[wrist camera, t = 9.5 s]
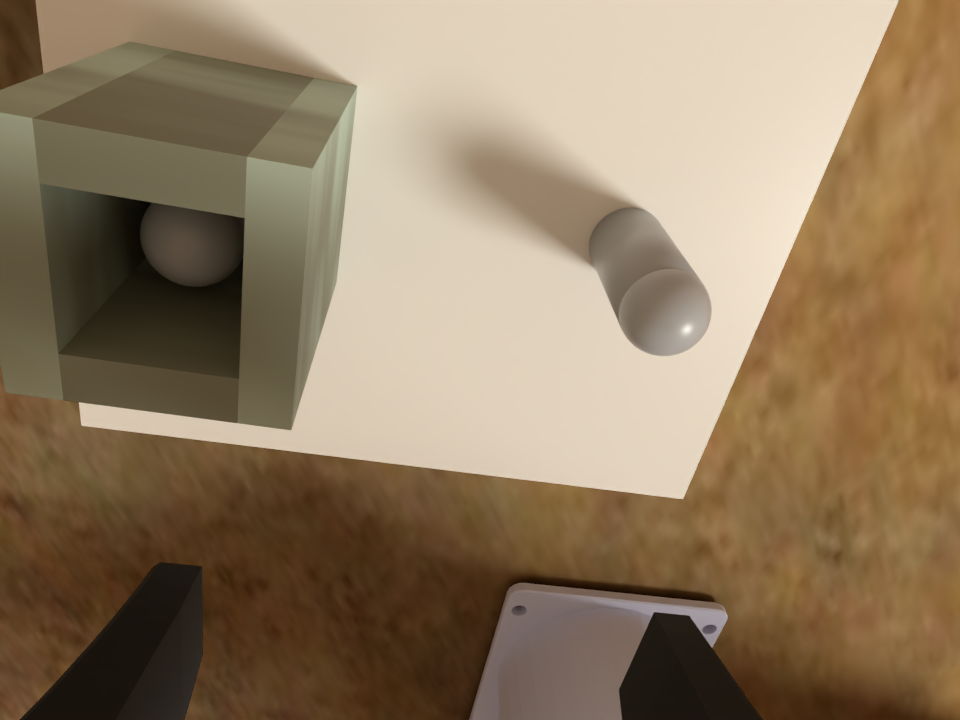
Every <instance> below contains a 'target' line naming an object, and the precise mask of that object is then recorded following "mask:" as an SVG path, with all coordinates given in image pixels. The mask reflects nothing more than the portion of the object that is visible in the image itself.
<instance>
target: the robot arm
mask: <svg viewBox="0 0 960 720" xmlns="http://www.w3.org/2000/svg"><path fill="white" fill-rule="evenodd" d="M516 606H520V607H516ZM727 618H728V616H727V613H726V611H725V608H724V606H723V605H721V604H719V603H715V602H705V601H695V600H686V599H676V598H666V597H657V596H647V595H637V594H628V593H618V592H608V591H599V590H589V589H579V588H570V587H560V586H550V585H541V584H531V583H517V584H514V585H513V586H511V587H510V588H509V589H508V591H507V594H506V597H505V601H504V604H503V607H502V611H501V614H500V617H499V621H498V624H497V627H496V631H495V634H494V637H493V641H492V644H491V648H490V651H489V654H488V658H487V661H486V664H485V668H484V671H483V674H482V678H481V681H480V685H479V688H478V691H477V695H476V698H475V701H474V705H473V708H472V711H471V715H470V718H469V720H763V719H762V718H761V717H760V715H759V714H758V713H757V711H756V710H755V708H754V707H753V706H752V704H751V703H750V701H749V700H748V699H747V697H746V696H745V694H744V693H743V692H742V690H741V689H740V687H739V686H738V685H737V683H736V682H735V680H734V679H733V677H732V676H731V675H730V673H729V672H728V670H727V669H726V667H725V666H724V665H723V663H722V662H721V660H720V659H719V657H718V656H717V654H716V653H715V652H714V650H713V649H712V647H713V646H714V644H715V642H716V640H717V638H718V636H719V634H720V632H721V631H722V629H723V627H724V625H725V623H726V621H727ZM202 655H203V630H202V567H201V566H192V565H182V564H172V563H162V562H161V563H159V564H157V565H156V566H154V567H153V568H152V569H151V570H150V572H149V573H148V574H147V576H146V577H145V578H144V580H143V581H142V582H141V584H140V585H139V586H138V587H137V589H136V590H135V591H134V593H133V594H132V595H131V596H130V598H129V599H128V600H127V601H126V603H125V604H124V605H123V606H122V607H121V609H120V610H119V611H118V612H117V614H116V615H115V616H114V617H113V618H112V620H111V621H110V622H109V623H108V624H107V625H106V627H105V628H104V629H103V630H102V631H101V632H100V634H99V635H98V636H97V637H96V638H95V639H94V641H93V642H92V643H91V644H90V645H89V646H88V647H87V648H86V650H85V651H84V652H83V653H82V654H81V655H80V656H79V657H78V658H77V659H76V661H75V662H74V663H73V664H72V665H71V666H70V667H69V668H68V669H67V671H66V672H65V673H64V674H63V675H62V676H61V677H60V678H59V679H58V680H57V682H56V683H55V684H54V685H53V686H52V687H51V688H50V689H49V690H48V691H47V692H46V693H45V694H44V695H43V697H42V698H41V699H40V700H39V701H38V702H37V703H36V704H35V705H34V706H33V707H32V708H31V709H30V710H29V711H28V712H27V713H26V714H25V715H24V716H23V717H22V718H21V719H20V720H185V716H186V713H187V709H188V706H189V702H190V699H191V695H192V692H193V688H194V684H195V681H196V677H197V673H198V669H199V666H200V662H201V658H202Z"/></svg>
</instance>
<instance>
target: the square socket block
mask: <svg viewBox="0 0 960 720" xmlns="http://www.w3.org/2000/svg"><path fill="white" fill-rule="evenodd" d="M357 87H358V86H354V85H349V84H344V83H339V82H333V81H328V80H323V79H318V78H313V77H308V76H303V75H298V74H293V73H288V72H282V71H277V70H272V69H267V68H262V67H257V66H252V65H247V64H242V63H237V62H232V61H226V60H221V59H216V58H211V57H206V56H201V55H196V54H191V53H186V52H181V51H175V50H170V49H165V48H160V47H155V46H150V45H145V44H140V43H135V42H130V41H129V42H127V43H124V44H121V45H119V46H116V47H113V48H111V49H108V50H105V51H103V52H100V53H97V54H95V55H92V56H89V57H87V58H84V59H81V60H79V61H76V62H73V63H71V64H68V65H65V66H63V67H60V68H57V69H55V70H52V71H49V72H47V73H44V74H41V75H39V76H36V77H33V78H31V79H28V80H25V81H23V82H20V83H17V84H15V85H12V86H9V87H7V88H4V89H1V90H0V363H1V370H2V376H3V382H4V389H5V393H12V394H19V395H27V396H35V397H42V398H50V399H57V400H65V401H72V402H80V403H87V404H95V405H103V406H110V407H118V408H125V409H133V410H140V411H148V412H156V413H163V414H171V415H178V416H186V417H193V418H201V419H209V420H216V421H224V422H231V423H239V424H246V425H254V426H262V427H269V428H277V429H284V430H292V426H293V423H294V420H295V417H296V413H297V410H298V407H299V404H300V400H301V397H302V394H303V390H304V387H305V384H306V381H307V377H308V374H309V371H310V368H311V364H312V361H313V358H314V355H315V351H316V348H317V345H318V342H319V338H320V335H321V332H322V328H323V325H324V322H325V319H326V315H327V312H328V309H329V306H330V302H331V299H332V296H333V293H334V289H335V286H336V283H337V274H338V265H339V255H340V246H341V237H342V227H343V218H344V209H345V199H346V190H347V181H348V171H349V162H350V153H351V143H352V134H353V125H354V115H355V106H356V96H357ZM151 203H158V204H164V205H170V206H176V207H182V208H188V209H194V210H200V211H206V212H212V213H218V214H223V215H229V216H235V217H241V218H245V226H244V254H243V259H242V261H241V262H240V264H239V265H238V267H237V268H236V269H235V270H234V272H233V273H232V274H230V275H229V276H228V277H227V278H225V279H223V280H222V281H220V282H218V283H215V284H212V285H209V286H203V287H190V286H184V285H180V284H177V283H174V282H172V281H170V280H168V279H166V278H165V277H163V276H162V275H161V274H159V273H158V272H157V271H156V270H155V269H154V268H153V267H152V266H151V264H150V263H149V261H148V260H147V258H146V256H145V254H144V251H143V249H142V245H141V241H140V227H141V222H142V219H143V216H144V214H145V212H146V210H147V208H148V207H149V206H150V205H151Z"/></svg>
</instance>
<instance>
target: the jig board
mask: <svg viewBox="0 0 960 720" xmlns="http://www.w3.org/2000/svg"><path fill="white" fill-rule="evenodd" d="M898 1H899V0H36V10H37V19H38V28H39V37H40V47H41V56H42V65H43V74H44V73H47V72H49V71H52V70H55V69H57V68H60V67H63V66H65V65H68V64H71V63H73V62H76V61H79V60H81V59H84V58H87V57H89V56H92V55H95V54H97V53H100V52H103V51H105V50H108V49H111V48H113V47H116V46H119V45H121V44H124V43H127V42H129V41H130V42H135V43H140V44H145V45H150V46H155V47H160V48H165V49H170V50H175V51H181V52H186V53H191V54H196V55H201V56H206V57H211V58H216V59H221V60H226V61H232V62H237V63H242V64H247V65H252V66H257V67H262V68H267V69H272V70H277V71H282V72H288V73H293V74H298V75H303V76H308V77H313V78H318V79H323V80H328V81H333V82H339V83H344V84H349V85H354V86H358V87H357V96H356V106H355V115H354V125H353V134H352V143H351V153H350V162H349V171H348V181H347V190H346V199H345V209H344V218H343V227H342V237H341V246H340V255H339V265H338V274H337V283H336V286H335V289H334V293H333V296H332V299H331V302H330V306H329V309H328V312H327V315H326V319H325V322H324V325H323V328H322V332H321V335H320V338H319V342H318V345H317V348H316V351H315V355H314V358H313V361H312V364H311V368H310V371H309V374H308V377H307V381H306V384H305V387H304V390H303V394H302V397H301V400H300V404H299V407H298V410H297V413H296V417H295V420H294V423H293V426H292V430H284V429H277V428H269V427H262V426H254V425H246V424H239V423H231V422H224V421H216V420H209V419H201V418H193V417H186V416H178V415H171V414H163V413H156V412H148V411H140V410H133V409H125V408H118V407H110V406H103V405H95V404H87V403H80V402H79V407H80V417H81V426H89V427H97V428H105V429H113V430H122V431H130V432H138V433H146V434H154V435H163V436H171V437H179V438H187V439H195V440H203V441H212V442H220V443H228V444H236V445H244V446H253V447H261V448H269V449H277V450H285V451H294V452H302V453H310V454H318V455H326V456H334V457H343V458H351V459H359V460H367V461H375V462H384V463H392V464H400V465H408V466H416V467H424V468H433V469H441V470H449V471H457V472H465V473H474V474H482V475H490V476H498V477H506V478H515V479H523V480H531V481H539V482H547V483H555V484H564V485H572V486H580V487H588V488H596V489H605V490H613V491H621V492H629V493H637V494H645V495H654V496H662V497H670V498H678V499H683V498H684V495H685V493H686V491H687V489H688V486H689V484H690V482H691V479H692V477H693V475H694V472H695V470H696V468H697V465H698V463H699V461H700V459H701V456H702V454H703V452H704V449H705V447H706V445H707V442H708V440H709V438H710V435H711V433H712V431H713V428H714V426H715V424H716V422H717V419H718V417H719V415H720V412H721V410H722V408H723V405H724V403H725V401H726V398H727V396H728V394H729V392H730V389H731V387H732V385H733V382H734V380H735V378H736V375H737V373H738V371H739V368H740V366H741V364H742V361H743V359H744V357H745V355H746V352H747V350H748V348H749V345H750V343H751V341H752V338H753V336H754V334H755V331H756V329H757V327H758V325H759V322H760V320H761V318H762V315H763V313H764V311H765V308H766V306H767V304H768V301H769V299H770V297H771V294H772V292H773V290H774V288H775V285H776V283H777V281H778V278H779V276H780V274H781V271H782V269H783V267H784V264H785V262H786V260H787V258H788V255H789V253H790V251H791V248H792V246H793V244H794V241H795V239H796V237H797V234H798V232H799V230H800V228H801V225H802V223H803V221H804V218H805V216H806V214H807V211H808V209H809V207H810V204H811V202H812V200H813V197H814V195H815V193H816V191H817V188H818V186H819V184H820V181H821V179H822V177H823V174H824V172H825V170H826V167H827V165H828V163H829V161H830V158H831V156H832V154H833V151H834V149H835V147H836V144H837V142H838V140H839V137H840V135H841V133H842V130H843V128H844V126H845V124H846V121H847V119H848V117H849V114H850V112H851V110H852V107H853V105H854V103H855V100H856V98H857V96H858V94H859V91H860V89H861V87H862V84H863V82H864V80H865V77H866V75H867V73H868V70H869V68H870V66H871V63H872V61H873V59H874V57H875V54H876V52H877V50H878V47H879V45H880V43H881V40H882V38H883V36H884V33H885V31H886V29H887V27H888V24H889V22H890V20H891V17H892V15H893V13H894V10H895V8H896V6H897V3H898ZM244 226H245V218H241V217H235V216H229V215H223V214H218V213H212V212H206V211H200V210H194V209H188V208H182V207H176V206H170V205H164V204H158V203H151V205H150V206H149V207H148V208H147V210H146V212H145V214H144V216H143V219H142V222H141V227H140V241H141V245H142V249H143V251H144V254H145V256H146V258H147V260H148V261H149V263H150V264H151V266H152V267H153V268H154V269H155V270H156V271H157V272H158V273H159V274H161V275H162V276H163V277H165V278H166V279H168V280H170V281H172V282H174V283H177V284H180V285H184V286H190V287H203V286H209V285H212V284H215V283H218V282H220V281H222V280H223V279H225V278H227V277H228V276H229V275H230V274H232V273H233V272H234V270H235V269H236V268H237V267H238V265H239V264H240V262H241V261H242V259H243V254H244Z"/></svg>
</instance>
